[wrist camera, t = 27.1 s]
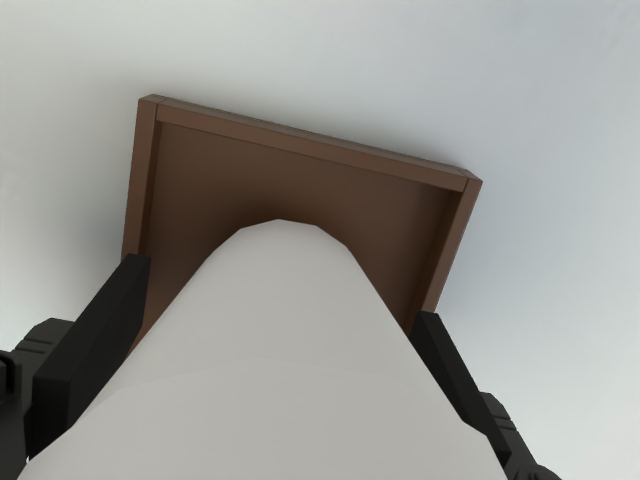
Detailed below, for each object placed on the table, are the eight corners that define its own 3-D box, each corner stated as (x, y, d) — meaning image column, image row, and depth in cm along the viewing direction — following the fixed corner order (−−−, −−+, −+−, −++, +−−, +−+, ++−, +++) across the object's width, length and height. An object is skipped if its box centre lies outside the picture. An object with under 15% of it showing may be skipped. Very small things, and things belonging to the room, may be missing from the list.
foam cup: (111, 319, 19) (-203, 802, 7) (247, 124, 16) (126, 345, 4) (309, 429, 21) (330, 924, 9) (452, 273, 19) (731, 674, 7)
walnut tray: (468, 170, 19) (484, 181, 18) (380, 413, 24) (386, 440, 22) (151, 93, 18) (138, 98, 16) (118, 370, 22) (105, 396, 20)
